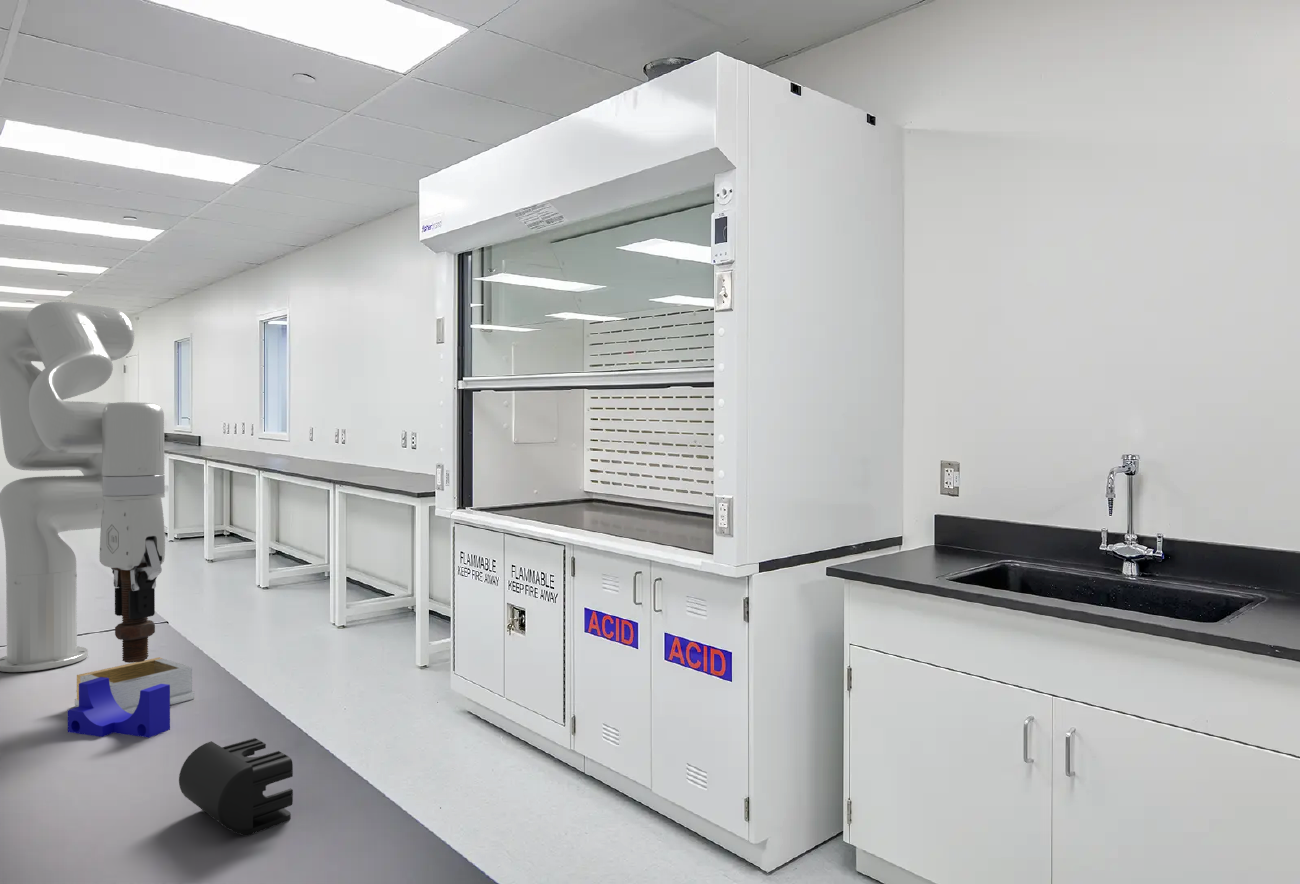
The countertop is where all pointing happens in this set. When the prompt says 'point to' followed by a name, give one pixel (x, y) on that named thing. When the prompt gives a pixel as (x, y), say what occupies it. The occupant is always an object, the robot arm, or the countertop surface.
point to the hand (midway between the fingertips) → (134, 614)
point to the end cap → (238, 785)
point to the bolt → (133, 625)
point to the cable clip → (119, 711)
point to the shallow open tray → (143, 681)
